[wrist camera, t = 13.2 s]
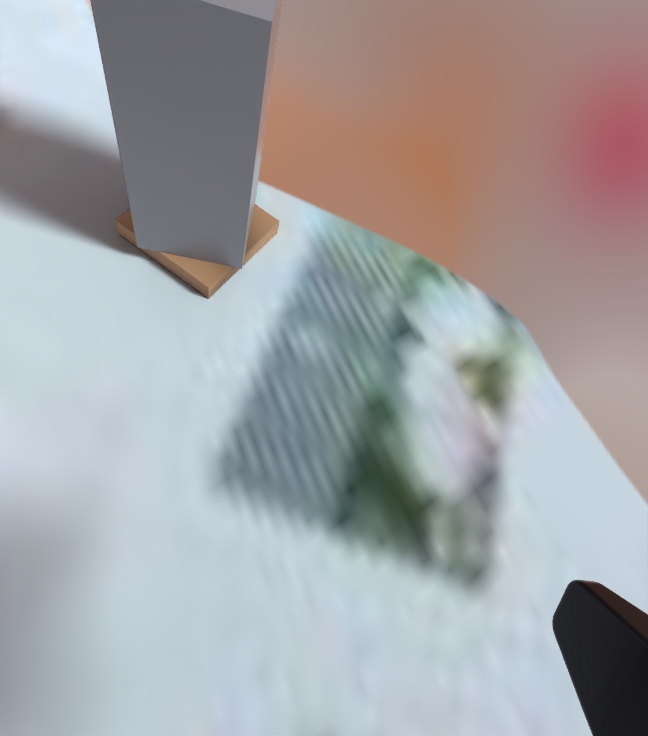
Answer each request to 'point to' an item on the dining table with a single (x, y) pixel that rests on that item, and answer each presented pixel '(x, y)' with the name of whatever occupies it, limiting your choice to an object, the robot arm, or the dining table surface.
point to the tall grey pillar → (189, 116)
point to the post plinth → (201, 272)
